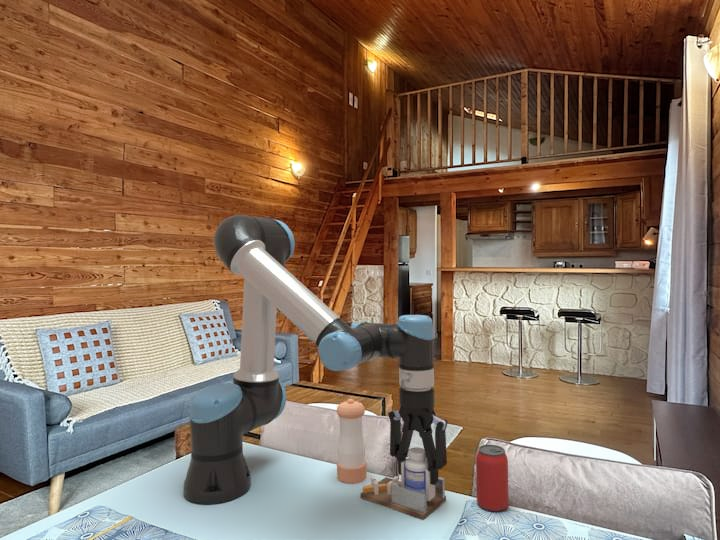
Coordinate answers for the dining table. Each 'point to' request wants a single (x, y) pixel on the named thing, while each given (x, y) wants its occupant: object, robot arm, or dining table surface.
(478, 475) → the beer can
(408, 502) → the end holder
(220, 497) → the robot arm
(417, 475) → the pill bottle
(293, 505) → the dining table surface
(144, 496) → the dining table surface
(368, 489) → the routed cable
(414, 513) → the board
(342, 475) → the pepper shaker
